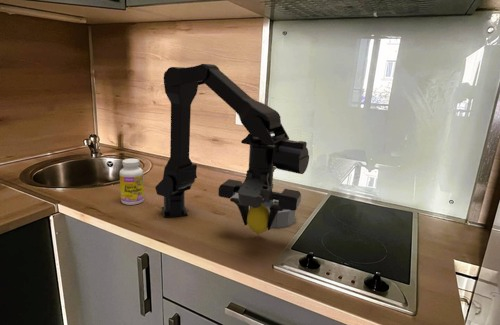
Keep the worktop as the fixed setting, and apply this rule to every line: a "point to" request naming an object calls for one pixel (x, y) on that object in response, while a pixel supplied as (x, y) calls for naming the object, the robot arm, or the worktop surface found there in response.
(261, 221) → the lemon
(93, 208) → the worktop surface
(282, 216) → the bowl
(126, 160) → the supplement bottle
